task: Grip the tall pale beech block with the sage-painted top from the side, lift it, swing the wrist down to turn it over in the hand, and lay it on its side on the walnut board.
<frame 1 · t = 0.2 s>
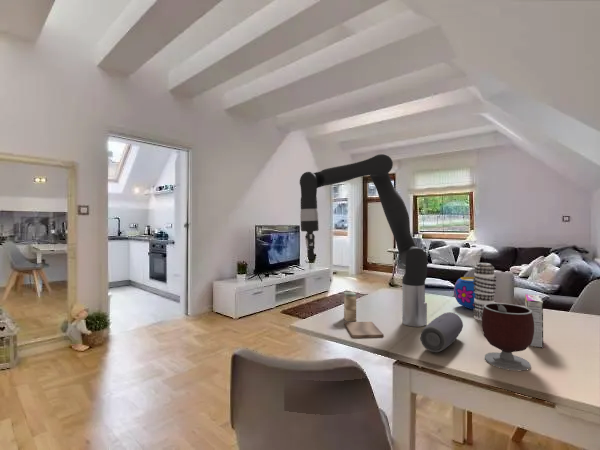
hand: (310, 258, 139), 29 cm above the table, tool pointing down, fingers open, 8 cm apart
candy bar box: (533, 342, 120), on the table
mate gourd: (506, 363, 102), on the table
decorative candle: (484, 318, 149), on the table
walnut board: (362, 330, 133), on the table
bluetooth speaker: (442, 346, 117), on the table
ceramic pot: (472, 308, 166), on the table
beech block: (350, 319, 148), on the table
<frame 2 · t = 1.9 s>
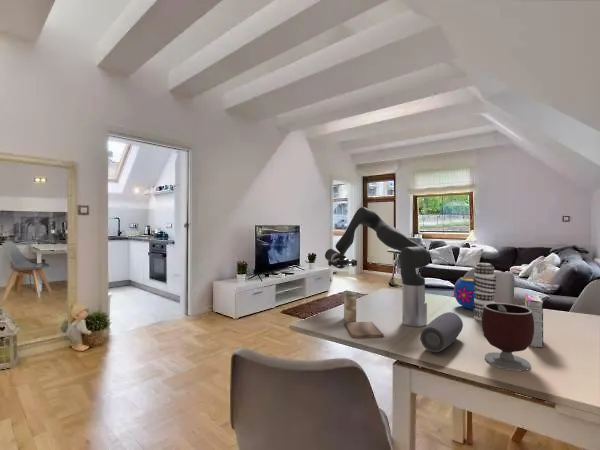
hand: (345, 264, 159), 23 cm above the table, tool horizontal, fingers open, 8 cm apart
nothing on the table moved.
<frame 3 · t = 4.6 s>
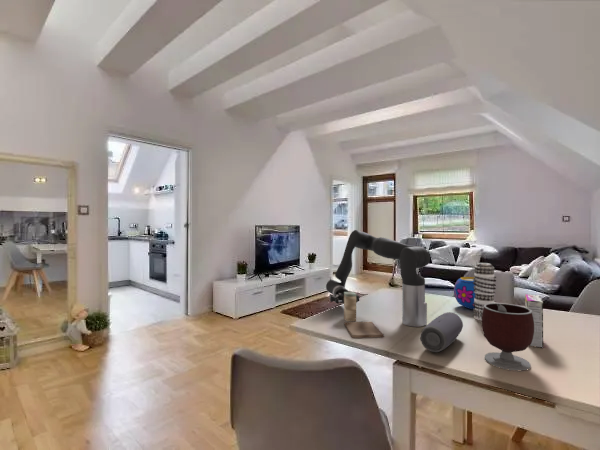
hand: (347, 301, 155), 6 cm above the table, tool horizontal, fingers open, 8 cm apart
nothing on the table moved.
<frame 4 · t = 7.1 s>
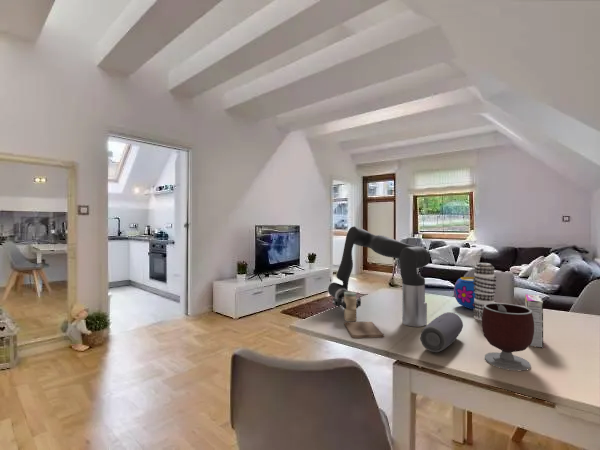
hand: (351, 306, 146), 7 cm above the table, tool horizontal, fingers closed on beech block, 4 cm apart
beech block: (350, 319, 148), on the table, touching gripper
everything else where it was.
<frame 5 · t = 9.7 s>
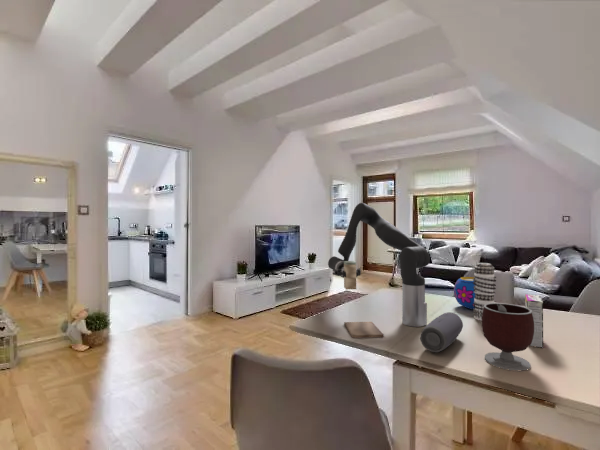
hand: (351, 274, 145), 21 cm above the table, tool horizontal, fingers closed on beech block, 4 cm apart
beech block: (350, 288, 148), point 14 cm above the table, touching gripper
everything else where it was.
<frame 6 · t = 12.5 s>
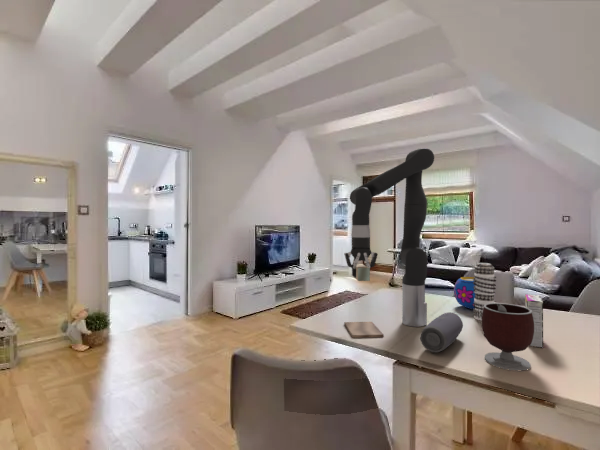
hand: (361, 277, 136), 21 cm above the table, tool pointing down, fingers closed on beech block, 4 cm apart
beech block: (357, 269, 143), point 23 cm above the table, tilted 90°, touching gripper
everything else where it was.
when the fingers open (3 cm above the table, at t = 17.2 s): beech block drops 1 cm, resting on walnut board.
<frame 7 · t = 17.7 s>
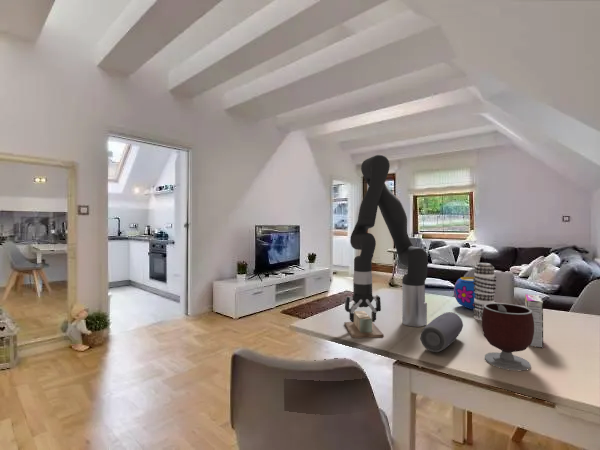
hand: (362, 321, 133), 4 cm above the table, tool pointing down, fingers open, 8 cm apart
beech block: (359, 317, 140), point 3 cm above the table, tilted 90°, touching walnut board
everything else where it was.
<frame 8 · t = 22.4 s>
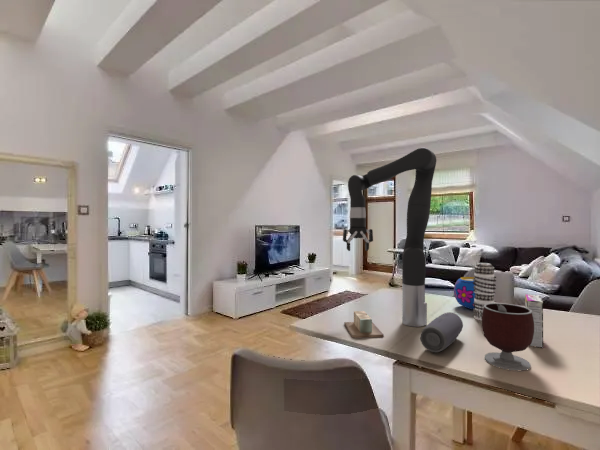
hand: (357, 250, 158), 30 cm above the table, tool pointing down, fingers open, 8 cm apart
nothing on the table moved.
at the end: beech block tilted 90°; beech block touching walnut board; the gripper is holding nothing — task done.
